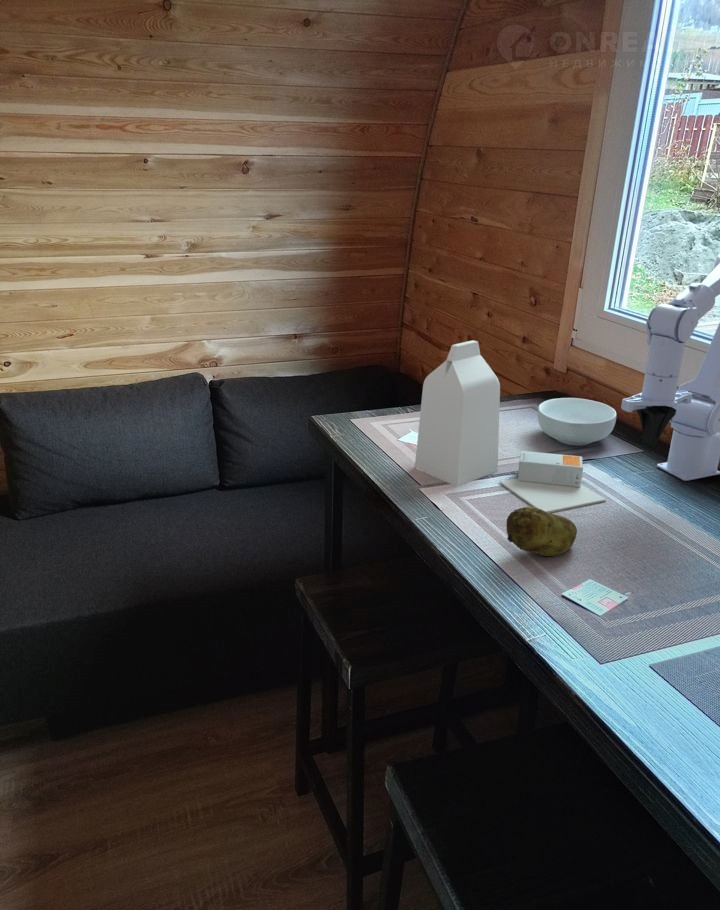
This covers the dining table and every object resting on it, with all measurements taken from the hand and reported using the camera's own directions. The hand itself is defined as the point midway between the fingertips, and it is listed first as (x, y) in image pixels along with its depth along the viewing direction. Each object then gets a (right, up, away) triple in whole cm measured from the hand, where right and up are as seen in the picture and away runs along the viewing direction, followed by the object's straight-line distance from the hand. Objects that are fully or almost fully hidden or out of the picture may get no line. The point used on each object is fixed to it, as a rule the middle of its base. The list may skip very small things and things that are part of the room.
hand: (649, 443), depth 143 cm
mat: (-17, -9, +3) cm, 20 cm away
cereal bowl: (-6, +1, +29) cm, 30 cm away
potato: (-24, -18, -18) cm, 35 cm away
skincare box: (-11, -5, +6) cm, 13 cm away
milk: (-34, -5, +12) cm, 37 cm away
